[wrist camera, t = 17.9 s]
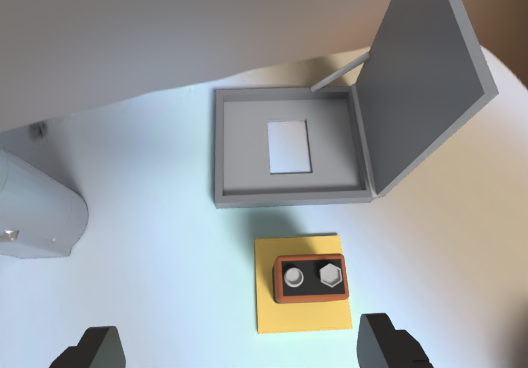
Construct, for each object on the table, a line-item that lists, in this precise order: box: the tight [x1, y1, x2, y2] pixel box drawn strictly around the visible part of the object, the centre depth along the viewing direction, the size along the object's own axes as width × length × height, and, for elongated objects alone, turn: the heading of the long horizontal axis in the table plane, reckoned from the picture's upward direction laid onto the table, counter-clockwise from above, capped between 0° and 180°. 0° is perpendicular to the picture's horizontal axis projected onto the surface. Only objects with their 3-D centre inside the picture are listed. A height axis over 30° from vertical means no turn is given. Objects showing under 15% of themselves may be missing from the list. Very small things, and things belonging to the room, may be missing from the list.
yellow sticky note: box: [255, 235, 353, 334], centre depth 38 cm, size 11×11×1 cm
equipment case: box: [215, 0, 499, 209], centre depth 35 cm, size 18×22×23 cm
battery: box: [272, 253, 349, 304], centre depth 33 cm, size 4×7×10 cm, turn 92°
